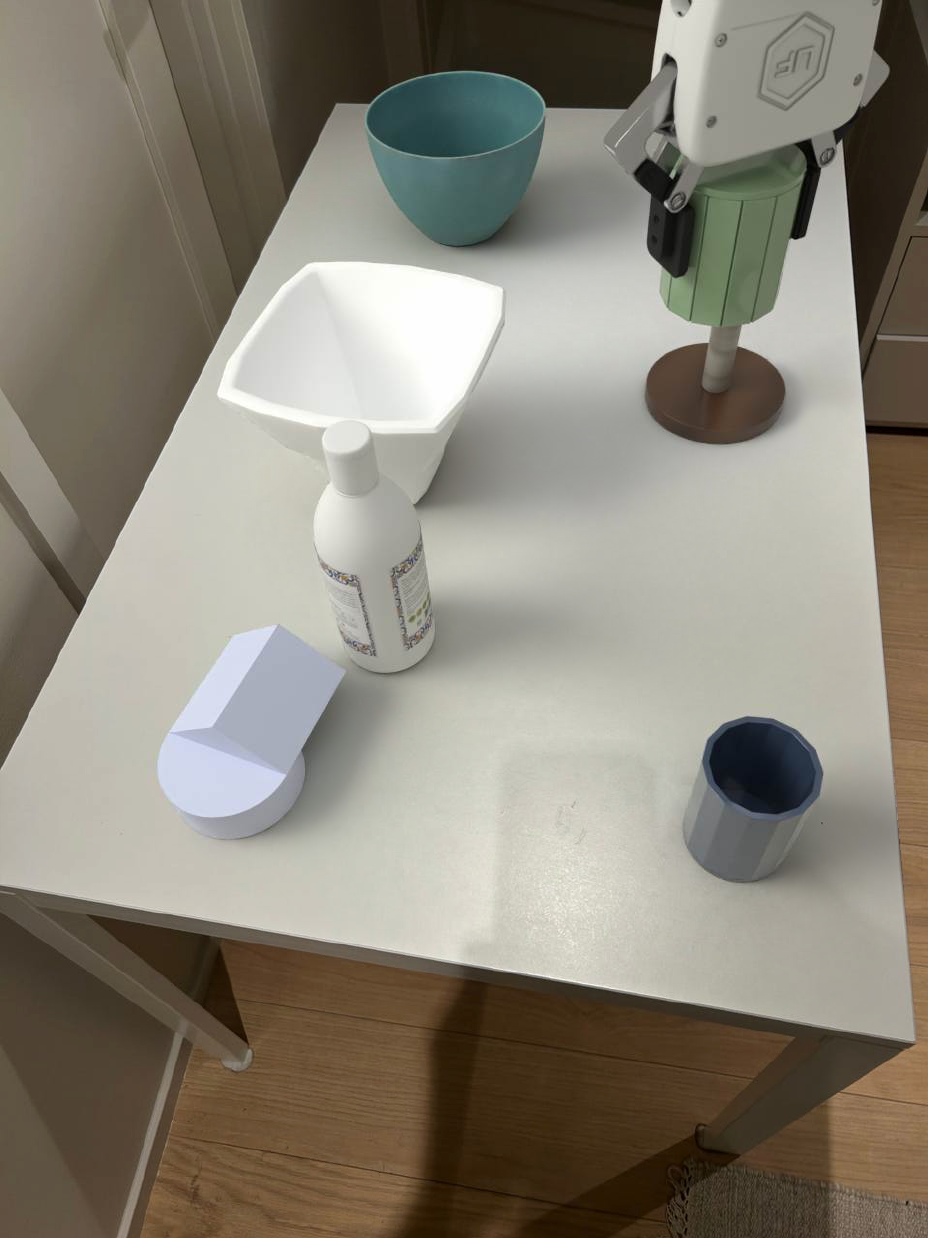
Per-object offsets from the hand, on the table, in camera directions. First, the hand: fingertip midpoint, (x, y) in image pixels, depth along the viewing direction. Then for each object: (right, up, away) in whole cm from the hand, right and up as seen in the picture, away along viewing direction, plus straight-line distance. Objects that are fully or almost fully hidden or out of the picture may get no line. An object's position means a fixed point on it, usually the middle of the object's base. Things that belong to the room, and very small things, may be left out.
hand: (726, 244), depth 53 cm
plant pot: (-15, +22, +49) cm, 56 cm away
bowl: (-21, -9, +27) cm, 35 cm away
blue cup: (+2, -35, +5) cm, 36 cm away
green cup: (0, -2, +3) cm, 3 cm away
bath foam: (-21, -23, +16) cm, 35 cm away
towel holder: (+7, -2, +30) cm, 31 cm away
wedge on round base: (-30, -31, +11) cm, 44 cm away
